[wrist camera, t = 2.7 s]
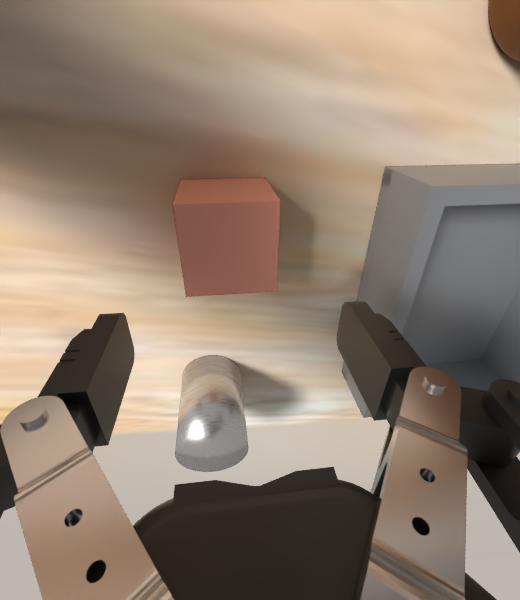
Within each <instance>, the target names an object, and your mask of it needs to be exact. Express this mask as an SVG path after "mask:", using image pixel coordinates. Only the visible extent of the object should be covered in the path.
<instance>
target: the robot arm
mask: <svg viewBox="0 0 520 600" xmlns="http://www.w3.org/2000/svg"><path fill="white" fill-rule="evenodd" d="M337 345H338V349H339V351H340V353H341V355H342V357H343V359H344V361H345V363H346V365H347V367H348V369H349V371H350V373H351V375H352V377H353V379H354V381H355V383H356V385H357V387H358V389H359V391H360V393H361V395H362V397H363V399H364V401H365V403H366V405H367V407H368V409H369V411H370V413H371V415H372V417H373V419H374V420H384V419H387V421H388V423H389V424H390V426H389V429H388V432H387V435H386V439H385V443H384V446H383V451H382V454H381V458H380V461H379V465H378V469H377V473H376V476H375V480H374V483H373V486H372V489H371V492H369V491H367V490H365V489H363V488H362V487H360V486H357V485H355V484H352V483H349V482H346V481H342V480H338V479H337V476H336V473H335V470H334V467H328V468H320V469H311V470H302V471H295V472H293V473H290V474H288V475H286V476H283V477H281V478H279V479H276V480H273V481H271V482H269V483H266V484H263V485H261V486H249V485H243V484H236V483H230V482H224V481H217V480H213V481H204V482H195V483H187V484H178V485H175V490H174V498H173V499H171V500H168V501H166V502H164V503H162V504H160V505H159V506H157V507H155V508H154V509H152V510H151V511H150V512H148V513H147V514H146V515H144V516H143V517H142V518H141V519H140V520H138V521H137V522H136V523H135V525H133V526H132V524H131V522H130V520H129V518H128V517H127V515H126V513H125V511H124V509H123V508H122V506H121V504H120V502H119V500H118V498H117V497H116V495H115V493H114V491H113V489H112V487H111V486H110V484H109V482H108V480H107V478H106V477H105V475H104V473H103V471H102V469H101V467H100V466H99V464H98V462H97V460H96V458H95V456H94V455H93V453H92V452H93V449H94V446H103V445H108V444H109V441H110V437H111V434H112V431H113V428H114V425H115V421H116V418H117V415H118V412H119V408H120V405H121V402H122V399H123V395H124V392H125V389H126V386H127V382H128V379H129V376H130V373H131V369H132V366H133V363H134V346H133V342H132V339H131V335H130V331H129V327H128V323H127V319H126V316H125V314H124V313H114V314H100V315H99V316H98V318H97V320H96V322H95V323H94V325H93V327H92V329H84V330H83V331H82V332H80V333H79V334H78V335H77V336H76V337H74V338H73V339H72V340H71V342H70V344H69V345H68V347H67V349H66V350H65V353H64V354H63V355H62V357H61V359H60V362H59V363H58V364H57V365H56V367H55V369H54V371H53V372H52V374H51V376H50V377H49V379H48V381H47V382H46V384H45V386H44V387H43V389H42V391H41V392H40V394H39V396H38V397H37V398H34V399H31V400H29V401H27V402H25V403H23V404H21V405H20V406H18V407H17V408H15V409H14V410H13V411H12V412H11V413H10V414H9V415H8V416H7V417H6V418H5V420H4V421H3V423H2V424H1V425H0V518H1V516H2V513H3V511H4V510H7V509H9V508H12V507H14V506H16V510H17V513H18V517H19V520H20V524H21V527H22V530H23V534H24V537H25V541H26V544H27V548H28V551H29V554H30V558H31V561H32V565H33V568H34V572H35V575H36V578H37V582H38V585H39V589H40V592H41V596H42V599H43V600H496V599H495V598H494V597H493V596H492V595H491V594H490V593H488V592H487V591H486V590H485V589H484V588H483V587H481V586H480V585H479V584H478V583H477V582H476V581H474V580H473V579H472V578H471V577H470V576H469V575H468V574H466V573H465V544H466V498H467V496H466V495H467V469H468V470H469V472H470V474H471V475H472V477H473V478H474V480H475V482H476V483H477V485H478V486H479V488H480V490H481V491H482V493H483V494H484V496H485V498H486V499H487V501H488V502H489V504H490V506H491V507H492V509H493V510H494V512H495V514H496V515H497V517H498V519H499V520H500V522H501V523H502V525H503V526H504V528H505V529H506V531H507V533H508V535H509V536H510V538H511V539H512V541H513V543H514V544H515V546H516V547H517V549H518V550H519V552H520V461H519V460H518V458H517V457H516V456H517V455H518V453H519V452H520V383H518V382H515V381H511V380H505V379H500V380H496V381H494V382H492V383H491V385H490V386H489V388H488V390H487V391H485V390H479V389H473V388H467V387H461V386H459V384H458V383H457V382H456V381H455V380H454V379H453V378H452V377H451V376H450V375H448V374H447V373H445V372H443V371H441V370H438V369H436V368H432V367H427V366H426V365H425V363H424V362H423V361H422V360H421V358H420V357H419V356H418V355H417V353H416V352H415V351H414V350H413V348H412V347H411V346H410V345H409V343H408V342H407V341H406V340H404V337H403V336H402V334H401V333H400V332H398V329H397V328H396V327H395V326H394V324H393V323H392V322H391V321H390V320H388V319H387V318H385V317H384V316H382V315H381V314H379V313H376V314H375V313H374V312H373V310H372V309H371V308H370V306H369V305H368V304H367V303H366V302H365V301H358V302H345V303H344V304H343V306H342V311H341V316H340V321H339V327H338V332H337Z"/></svg>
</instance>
